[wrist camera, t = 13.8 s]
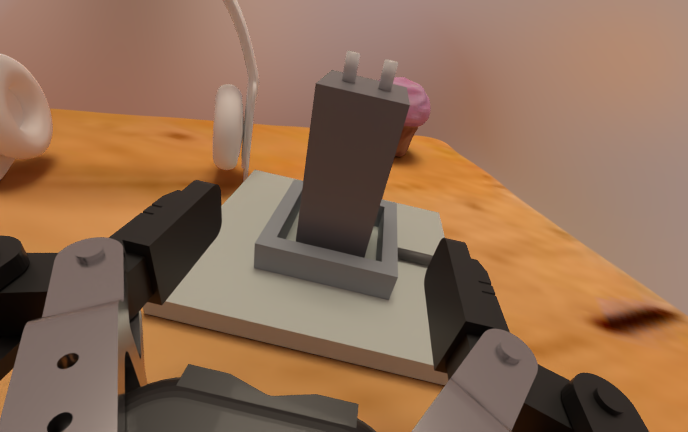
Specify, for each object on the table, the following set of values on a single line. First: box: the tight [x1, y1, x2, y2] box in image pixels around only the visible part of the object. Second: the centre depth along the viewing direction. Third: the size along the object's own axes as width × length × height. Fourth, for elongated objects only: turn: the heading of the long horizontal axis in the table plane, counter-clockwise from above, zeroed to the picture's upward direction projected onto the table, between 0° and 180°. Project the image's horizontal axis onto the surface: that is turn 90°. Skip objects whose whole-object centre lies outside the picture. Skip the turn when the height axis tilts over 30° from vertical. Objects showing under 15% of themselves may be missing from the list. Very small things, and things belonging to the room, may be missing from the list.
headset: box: [0, 0, 259, 181], centre depth 23 cm, size 20×7×18 cm, turn 105°
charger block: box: [296, 51, 410, 258], centre depth 19 cm, size 5×5×12 cm
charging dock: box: [143, 170, 448, 385], centre depth 23 cm, size 18×16×4 cm
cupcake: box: [379, 77, 430, 157], centre depth 42 cm, size 9×9×10 cm
